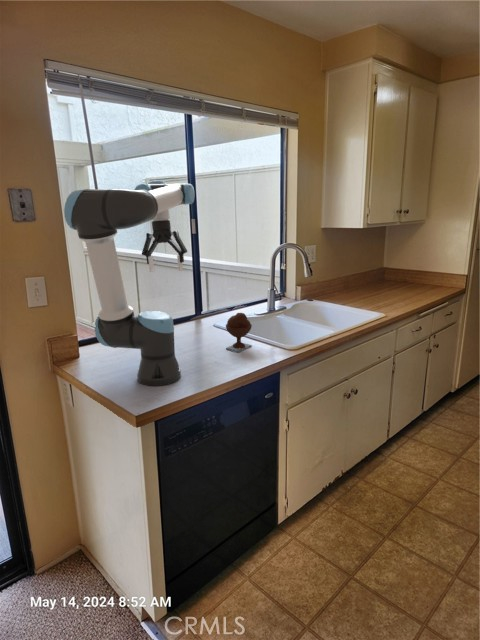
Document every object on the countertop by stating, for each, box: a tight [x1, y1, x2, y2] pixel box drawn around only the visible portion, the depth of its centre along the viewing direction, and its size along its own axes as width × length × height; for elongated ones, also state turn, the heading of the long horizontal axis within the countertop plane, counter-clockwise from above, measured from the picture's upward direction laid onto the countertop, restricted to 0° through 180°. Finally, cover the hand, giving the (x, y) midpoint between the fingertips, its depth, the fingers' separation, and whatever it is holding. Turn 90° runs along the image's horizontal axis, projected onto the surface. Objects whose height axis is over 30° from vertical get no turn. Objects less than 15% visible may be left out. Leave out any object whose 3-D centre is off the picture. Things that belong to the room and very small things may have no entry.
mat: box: [225, 342, 253, 353], centre depth 176 cm, size 10×7×1 cm
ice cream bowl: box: [225, 312, 252, 348], centre depth 174 cm, size 11×11×15 cm
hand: (166, 271), depth 175 cm, fingers open, 13 cm apart
